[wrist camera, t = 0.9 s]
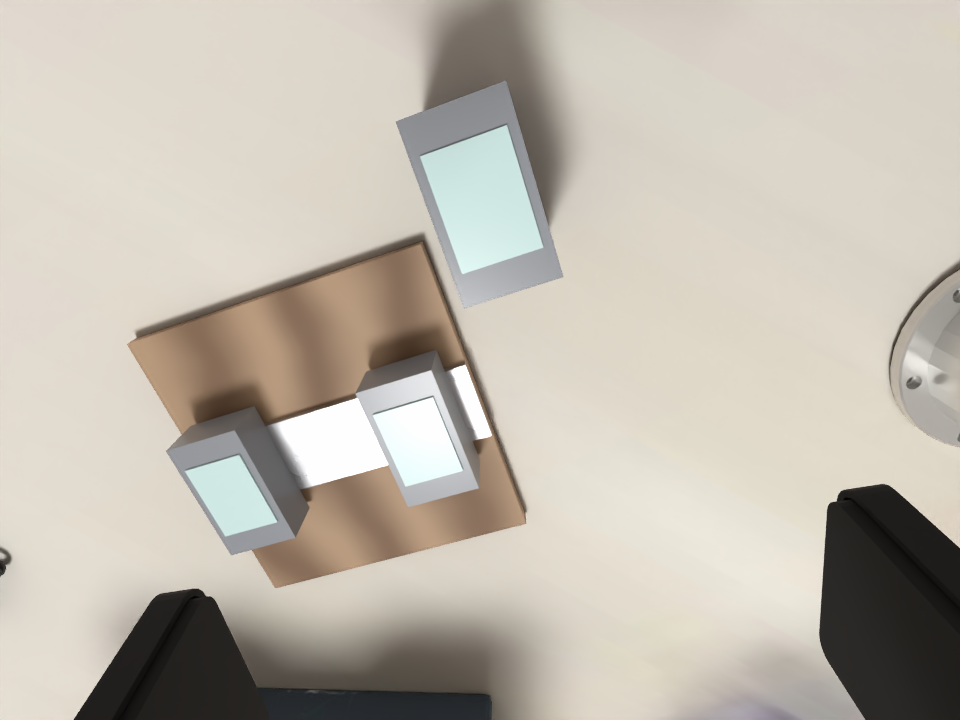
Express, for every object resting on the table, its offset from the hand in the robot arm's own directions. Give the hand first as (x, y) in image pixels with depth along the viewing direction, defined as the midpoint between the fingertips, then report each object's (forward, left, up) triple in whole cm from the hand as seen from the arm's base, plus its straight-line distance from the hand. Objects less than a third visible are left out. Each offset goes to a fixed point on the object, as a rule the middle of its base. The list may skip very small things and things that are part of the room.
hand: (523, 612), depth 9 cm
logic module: (0, -4, -27) cm, 27 cm away
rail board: (+14, +8, -27) cm, 31 cm away
